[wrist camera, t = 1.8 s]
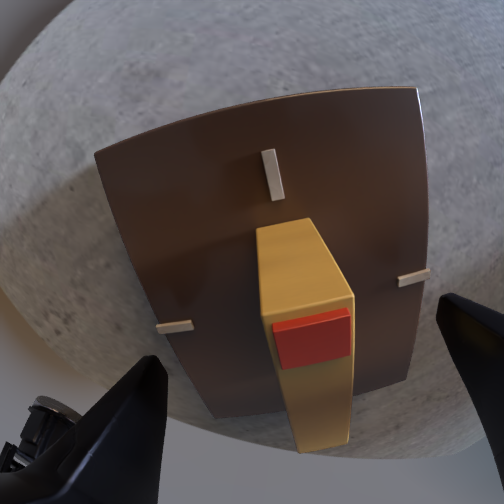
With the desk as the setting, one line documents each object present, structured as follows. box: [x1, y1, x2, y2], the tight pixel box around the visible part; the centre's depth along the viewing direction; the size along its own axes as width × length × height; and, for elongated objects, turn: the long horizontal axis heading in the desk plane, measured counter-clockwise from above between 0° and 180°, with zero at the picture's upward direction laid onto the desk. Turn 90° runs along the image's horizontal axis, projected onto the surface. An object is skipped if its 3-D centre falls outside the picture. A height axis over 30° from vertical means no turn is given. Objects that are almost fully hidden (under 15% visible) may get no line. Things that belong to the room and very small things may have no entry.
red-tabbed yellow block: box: [256, 218, 355, 453], centre depth 7 cm, size 6×2×4 cm, turn 13°
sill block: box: [94, 86, 431, 418], centre depth 11 cm, size 13×10×3 cm
